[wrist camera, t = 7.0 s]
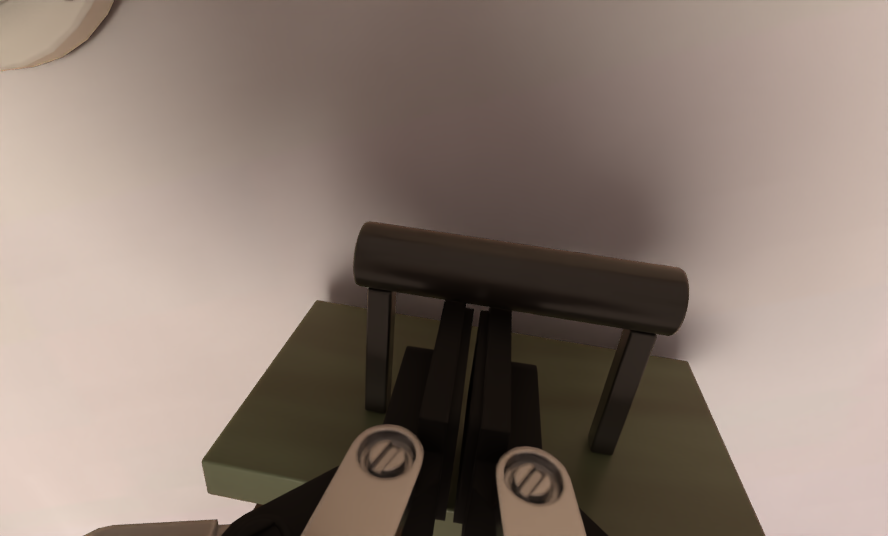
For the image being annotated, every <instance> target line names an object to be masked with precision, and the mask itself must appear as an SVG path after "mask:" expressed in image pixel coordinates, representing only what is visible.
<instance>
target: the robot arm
mask: <svg viewBox="0 0 888 536" xmlns="http://www.w3.org/2000/svg"><path fill="white" fill-rule="evenodd" d="M113 2H114V0H0V71H6V70H14V69H22V68H30V67H35V66H38V65H41V64H44V63H47V62H50V61H53V60H56V59H59V58H62V57H63V56H65V55H66V54H68V53H69V52H71V51H72V50H73V49H75V48H76V47H78V46H79V45H80V44H82V43H83V42H85V41H86V40H87V39H88V38H89V37H90V36H91V34H92V33H93V32H94V31H95V29H96V28H97V27H98V26H99V25H100V23H101V22H102V21H103V20H104V18H105V17H106V16H107V15H108V13H109V11H110V9H111V6H112V4H113ZM473 313H474V309H470V308H466V303H461V302H455V301H449V300H445V302H444V307H443V311H442V316H441V320H440V325H439V329H438V333H437V338H436V342H435V347H434V350H433V349H426V348H420V347H413V346H407V347H406V350H405V353H404V356H403V359H402V363H401V366H400V369H399V373H398V376H397V379H396V383H395V386H394V389H393V392H392V396H391V399H390V402H389V406H388V409H387V412H386V416H385V419H384V422H383V425H377V426H374V427H371V428H368V429H366V430H365V431H364V432H362V433H361V434H359V435H358V437H357V438H356V439H355V440H354V442H353V443H352V445H351V446H350V448H349V450H348V452H347V454H346V455H345V457H344V459H343V461H342V463H341V464H340V465H339V466H337V467H335V468H333V469H331V470H329V471H327V472H325V473H323V474H322V475H320V476H318V477H316V478H314V479H312V480H310V481H308V482H306V483H304V484H302V485H300V486H299V487H297V488H295V489H293V490H291V491H289V492H287V493H285V494H283V495H281V496H279V497H277V498H276V499H274V500H272V501H270V502H268V503H266V504H264V505H262V506H260V507H258V508H256V509H254V510H252V511H251V512H249V513H247V514H245V515H243V516H242V517H240V518H239V519H237V520H236V521H234V522H233V523H232V524H227V525H218V521H217V519H216V520H198V521H179V522H161V523H143V524H124V525H112V526H107V527H102V528H98V529H96V530H94V531H92V532H90V533H88V534H86V535H84V536H432V535H433V531H434V525H435V519H436V520H441V521H445V518H446V511H447V505H448V498H449V491H450V485H451V478H452V471H453V464H454V458H455V451H456V444H457V438H458V431H459V424H460V416H461V409H462V401H463V393H464V385H465V377H466V369H467V361H468V353H469V345H470V337H471V329H472V321H473ZM511 338H512V311H511V310H505V309H498V308H492V307H490V308H489V311H484V310H481V312H480V318H479V324H478V331H477V337H476V344H475V350H474V357H473V363H472V370H471V376H470V383H469V389H468V396H467V404H466V413H465V421H464V430H463V439H462V448H461V456H460V465H459V474H458V482H457V491H456V500H455V508H454V517H453V523H459V524H462V532H461V536H608V535H607V534H606V533H605V532H604V531H603V530H602V529H601V528H600V527H599V526H598V525H597V524H596V523H595V522H594V521H593V520H592V519H591V518H590V517H589V516H587V515H586V514H585V513H584V512H583V511H582V510H581V509H580V508H579V507H578V504H577V500H576V497H575V493H574V490H573V486H572V483H571V479H570V477H569V474H568V472H567V470H566V468H565V467H564V466H563V465H562V463H561V462H560V461H559V460H558V459H557V458H555V457H554V456H553V455H551V454H550V453H548V452H546V451H544V450H542V436H541V420H540V404H539V388H538V372H537V366H536V365H532V364H526V363H519V362H512V361H511Z"/></svg>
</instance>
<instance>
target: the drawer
mask: <svg viewBox="0 0 888 536" xmlns="http://www.w3.org/2000/svg"><path fill="white" fill-rule="evenodd" d="M353 274H354V280H355V283H356V284H357V285H359V286H362V287H368V290H367V308H361V307H355V306H349V305H343V304H337V303H331V302H325V301H319V300H317V301H316V302H315V303H314V305H313V306H312V307H311V309H310V310H309V312H308V313H307V314H306V316H305V317H304V318H303V320H302V321H301V323H300V324H299V325H298V327H297V328H296V330H295V331H294V332H293V334H292V335H291V337H290V338H289V339H288V341H287V342H286V344H285V345H284V346H283V348H282V349H281V351H280V352H279V353H278V355H277V356H276V358H275V359H274V360H273V362H272V363H271V365H270V366H269V367H268V369H267V370H266V372H265V373H264V374H263V376H262V377H261V378H260V380H259V381H258V383H257V384H256V385H255V387H254V388H253V390H252V391H251V392H250V394H249V395H248V397H247V398H246V399H245V401H244V402H243V404H242V405H241V406H240V408H239V409H238V411H237V412H236V413H235V415H234V416H233V418H232V419H231V420H230V422H229V423H228V425H227V426H226V427H225V429H224V430H223V432H222V433H221V434H220V436H219V437H218V438H217V440H216V441H215V443H214V444H213V445H212V447H211V448H210V450H209V451H208V452H207V454H206V455H205V457H204V458H203V460H202V467H203V471H204V476H205V481H206V486H207V491H208V493H210V494H213V495H218V496H223V497H228V498H233V499H237V500H242V501H247V502H252V503H257V504H256V506H255V508H254V509H256V508H258V507H260V506H262V505H264V504H266V503H268V502H270V501H272V500H274V499H276V498H277V497H279V496H281V495H283V494H285V493H287V492H289V491H291V490H293V489H295V488H297V487H299V486H300V485H302V484H304V483H306V482H308V481H310V480H312V479H314V478H316V477H318V476H320V475H322V474H323V473H325V472H327V471H329V470H331V469H333V468H335V467H337V466H339V465H340V464H341V463H342V461H343V459H344V457H345V455H346V454H347V452H348V450H349V448H350V446H351V445H352V443H353V442H354V440H355V439H356V438H357V437H358V435H359V434H361V433H362V432H364V431H365V430H366V429H368V428H371V427H374V426H377V425H383V422H384V419H385V416H386V412H387V409H388V406H389V402H390V399H391V396H392V392H393V389H394V386H395V383H396V379H397V376H398V373H399V369H400V366H401V363H402V359H403V356H404V353H405V350H406V347H407V346H413V347H420V348H426V349H433V350H434V347H435V342H436V338H437V333H438V329H439V325H440V320H434V319H428V318H422V317H416V316H410V315H404V314H398V313H395V311H396V293H397V292H399V293H406V294H412V295H418V296H424V297H430V298H436V299H443V300H449V301H455V302H461V303H467V304H474V305H480V306H486V307H492V308H498V309H505V310H511V311H517V312H523V313H529V314H536V315H542V316H548V317H554V318H560V319H567V320H573V321H579V322H585V323H591V324H597V325H604V326H610V327H616V328H622V329H623V331H622V334H621V337H620V340H619V343H618V346H617V349H616V350H615V349H609V348H603V347H597V346H591V345H585V344H579V343H573V342H567V341H561V340H555V339H549V338H543V337H537V336H531V335H525V334H519V333H513V332H512V338H511V361H512V362H519V363H526V364H532V365H536V366H537V372H538V388H539V404H540V420H541V436H542V450H544V451H546V452H548V453H550V454H551V455H553V456H554V457H555V458H557V459H558V460H559V461H560V462H561V463H562V465H563V466H564V467H565V468H566V470H567V472H568V474H569V477H570V479H571V483H572V486H573V490H574V493H575V497H576V500H577V504H578V507H579V508H580V509H581V510H582V511H583V512H584V513H585V514H586V515H587V516H589V517H590V518H591V519H592V520H593V521H594V522H595V523H596V524H597V525H598V526H599V527H600V528H601V529H602V530H603V531H604V532H605V533H606V534H607V535H608V536H765V534H764V531H763V529H762V527H761V525H760V523H759V520H758V518H757V516H756V514H755V511H754V509H753V507H752V505H751V502H750V500H749V498H748V496H747V493H746V491H745V489H744V487H743V484H742V482H741V480H740V478H739V475H738V473H737V471H736V469H735V467H734V464H733V462H732V460H731V458H730V455H729V453H728V451H727V449H726V446H725V444H724V442H723V440H722V437H721V435H720V433H719V431H718V428H717V426H716V424H715V422H714V419H713V417H712V415H711V413H710V411H709V408H708V406H707V404H706V402H705V399H704V397H703V395H702V393H701V390H700V388H699V386H698V384H697V381H696V379H695V377H694V375H693V372H692V370H691V368H690V366H689V363H688V362H687V361H682V360H676V359H670V358H664V357H658V356H652V355H650V354H651V352H652V349H653V346H654V343H655V341H656V338H657V335H656V334H659V335H666V336H670V335H674V334H675V333H676V332H677V331H678V330H679V328H680V327H681V325H682V323H683V321H684V318H685V315H686V311H687V307H688V300H689V284H688V278H687V275H686V273H685V272H684V270H682V269H681V268H679V267H672V266H665V265H658V264H652V263H645V262H638V261H632V260H625V259H618V258H612V257H605V256H598V255H592V254H585V253H578V252H572V251H565V250H558V249H552V248H545V247H538V246H531V245H525V244H518V243H511V242H505V241H498V240H491V239H485V238H478V237H471V236H465V235H458V234H451V233H445V232H438V231H431V230H424V229H418V228H411V227H404V226H398V225H391V224H384V223H378V222H371V221H369V222H366V223H365V224H364V225H363V226H362V228H361V230H360V233H359V235H358V239H357V242H356V247H355V252H354V261H353ZM477 331H478V327H476V326H472V329H471V337H470V345H469V353H468V361H467V369H466V377H465V385H464V393H463V401H462V409H461V416H460V424H459V431H458V438H457V444H456V451H455V458H454V464H453V471H452V478H451V485H450V491H449V498H448V505H447V511H446V518H445V521H441V520H436V519H435V525H434V531H433V535H432V536H461V532H462V524H459V523H453V517H454V508H455V500H456V491H457V482H458V474H459V465H460V456H461V448H462V439H463V430H464V421H465V413H466V404H467V396H468V389H469V383H470V376H471V370H472V363H473V357H474V350H475V344H476V337H477Z"/></svg>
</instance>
